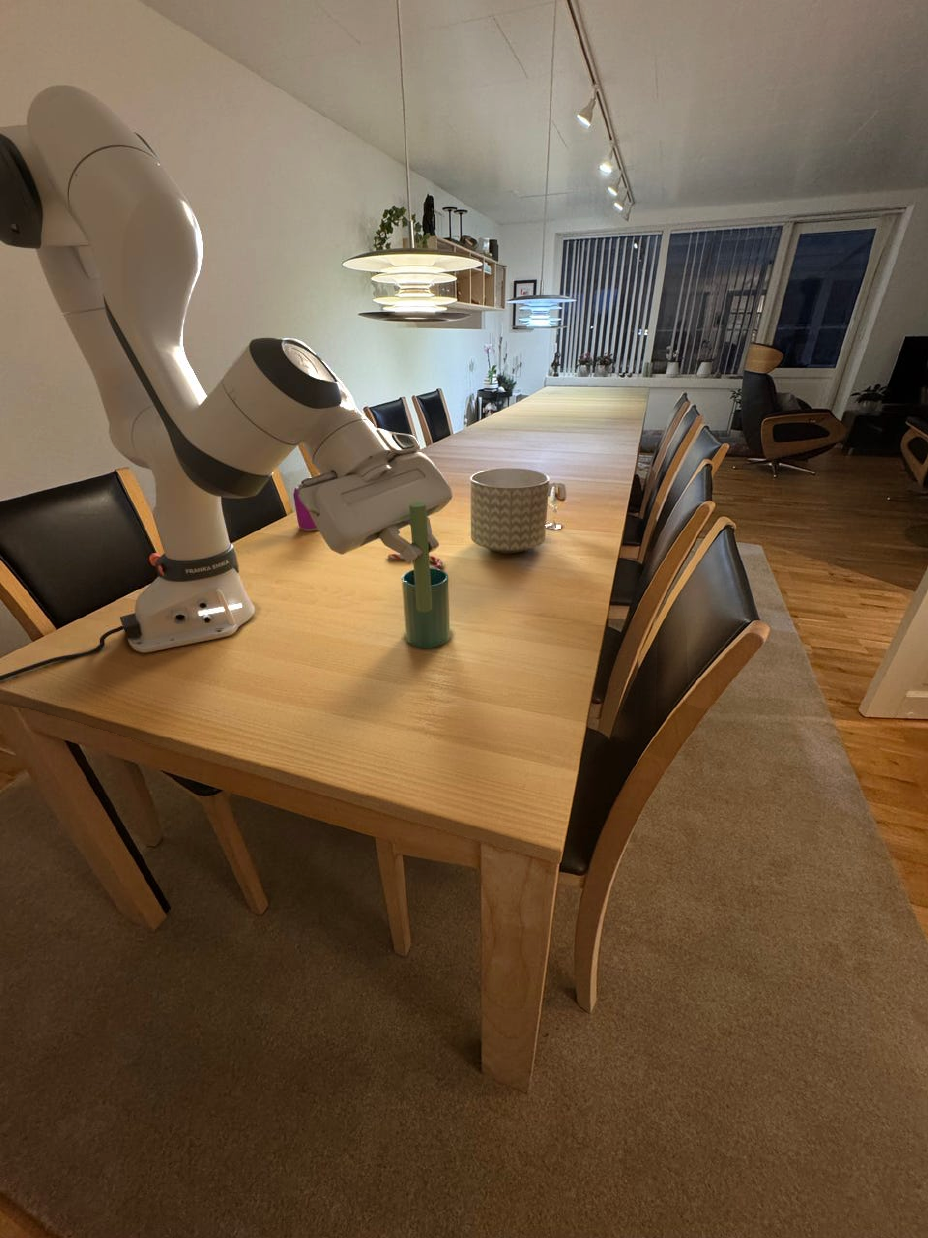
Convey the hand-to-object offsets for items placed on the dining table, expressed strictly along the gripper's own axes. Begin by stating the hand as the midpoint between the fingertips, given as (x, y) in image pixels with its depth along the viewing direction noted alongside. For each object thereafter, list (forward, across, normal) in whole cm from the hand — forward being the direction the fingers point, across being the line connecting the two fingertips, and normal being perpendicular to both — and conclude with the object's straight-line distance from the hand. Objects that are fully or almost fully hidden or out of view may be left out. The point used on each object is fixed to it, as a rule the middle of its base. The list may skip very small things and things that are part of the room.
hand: (424, 554), depth 63 cm
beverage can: (-38, +47, +75) cm, 96 cm away
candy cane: (-8, +42, +45) cm, 62 cm away
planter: (+1, +63, +36) cm, 73 cm away
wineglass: (+4, +85, +34) cm, 91 cm away
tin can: (+8, +17, +28) cm, 33 cm away
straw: (+5, 0, +6) cm, 8 cm away
